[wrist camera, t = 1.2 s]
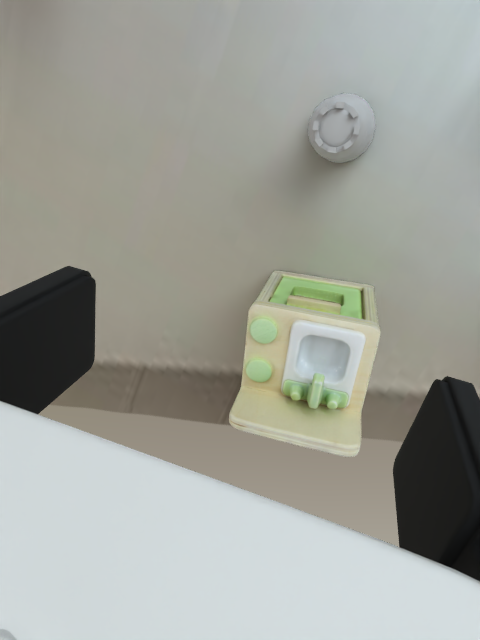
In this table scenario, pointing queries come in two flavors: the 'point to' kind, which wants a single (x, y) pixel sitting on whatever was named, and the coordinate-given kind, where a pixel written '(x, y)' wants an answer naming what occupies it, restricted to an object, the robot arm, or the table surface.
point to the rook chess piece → (342, 127)
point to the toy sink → (308, 362)
